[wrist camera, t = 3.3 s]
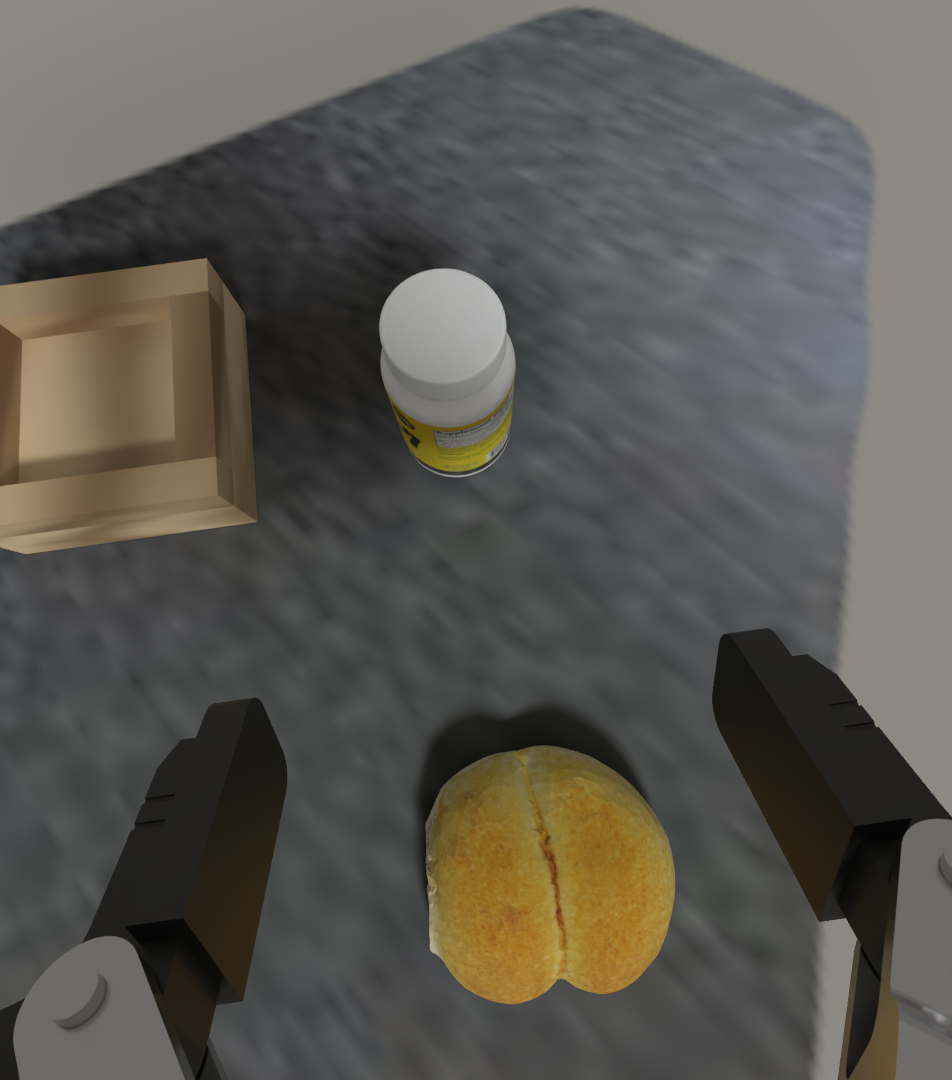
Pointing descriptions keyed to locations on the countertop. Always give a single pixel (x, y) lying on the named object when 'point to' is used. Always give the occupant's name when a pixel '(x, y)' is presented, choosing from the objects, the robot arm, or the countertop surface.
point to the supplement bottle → (448, 370)
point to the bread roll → (545, 875)
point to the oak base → (123, 408)
